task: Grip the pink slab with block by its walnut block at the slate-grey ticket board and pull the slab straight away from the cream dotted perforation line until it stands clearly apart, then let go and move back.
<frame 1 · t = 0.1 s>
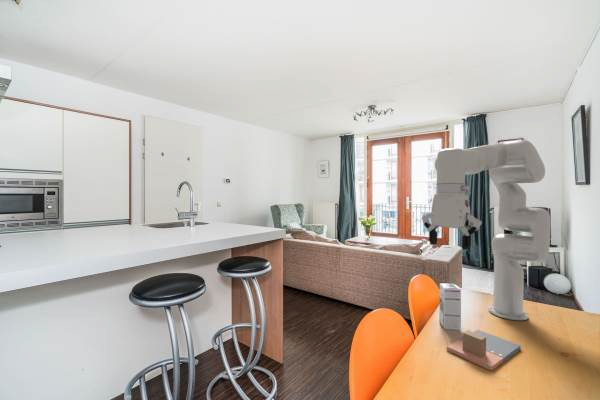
hand: (448, 246, 86), 31 cm above the table, tool pointing down, fingers open, 9 cm apart
ticket: (489, 346, 88), on the table
pink slab with block: (474, 345, 82), point 3 cm above the table, slide at 0.0 cm
syrup box: (449, 326, 101), on the table
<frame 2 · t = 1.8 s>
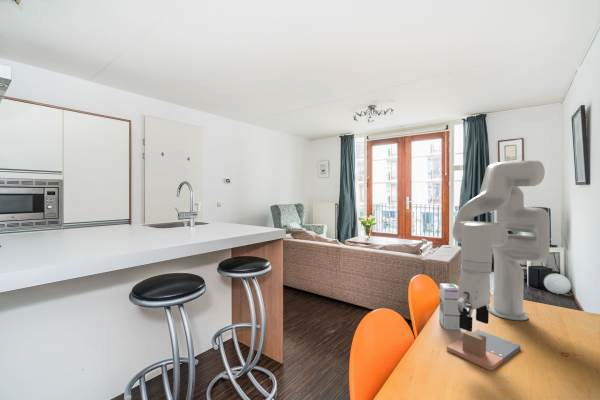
hand: (474, 325, 82), 9 cm above the table, tool pointing down, fingers open, 9 cm apart
nothing on the table moved.
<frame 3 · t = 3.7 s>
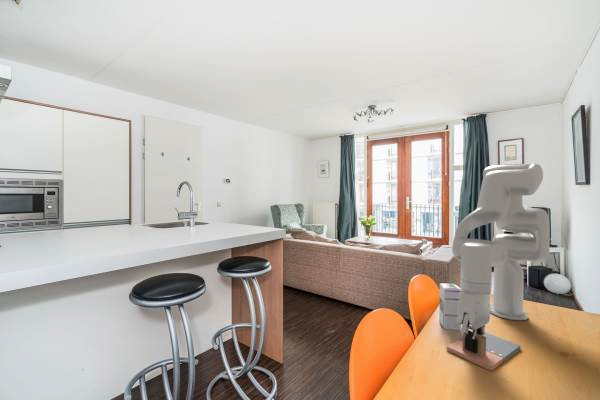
hand: (474, 348, 82), 2 cm above the table, tool pointing down, fingers closed on pink slab with block, 3 cm apart
pink slab with block: (474, 345, 82), point 3 cm above the table, slide at 0.0 cm, touching gripper
everything else where it was.
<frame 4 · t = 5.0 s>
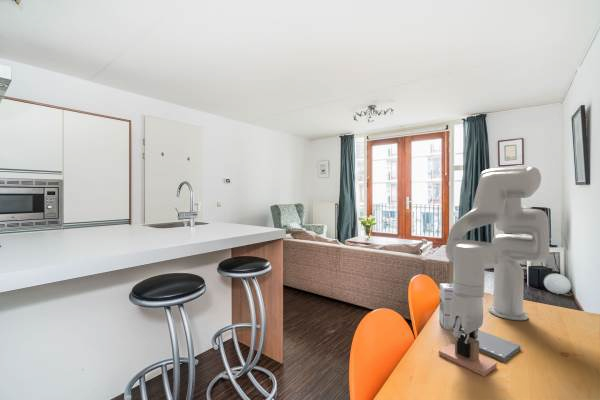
hand: (466, 353, 80), 2 cm above the table, tool pointing down, fingers closed on pink slab with block, 3 cm apart
pink slab with block: (466, 349, 80), point 3 cm above the table, slide at 4.3 cm, touching gripper
everything else where it was.
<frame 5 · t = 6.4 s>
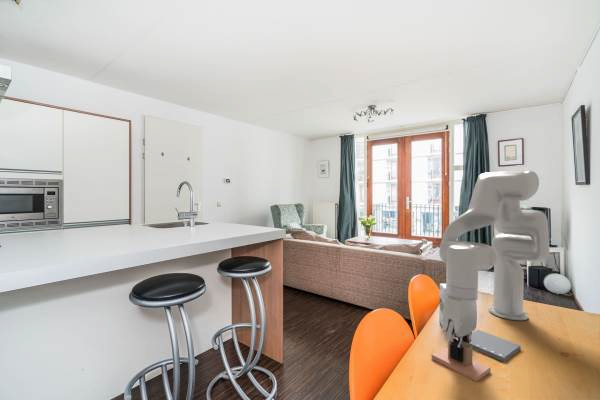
hand: (460, 357, 78), 2 cm above the table, tool pointing down, fingers closed on pink slab with block, 3 cm apart
pink slab with block: (460, 353, 78), point 3 cm above the table, slide at 8.0 cm, touching gripper
everything else where it was.
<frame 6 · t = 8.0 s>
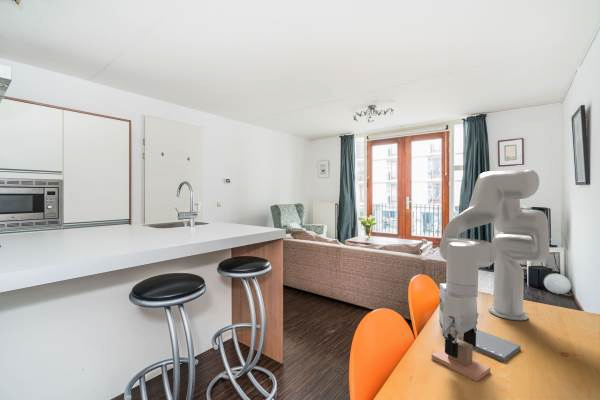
hand: (460, 349, 78), 4 cm above the table, tool pointing down, fingers open, 9 cm apart
pink slab with block: (460, 353, 78), point 3 cm above the table, slide at 8.0 cm
everything else where it was.
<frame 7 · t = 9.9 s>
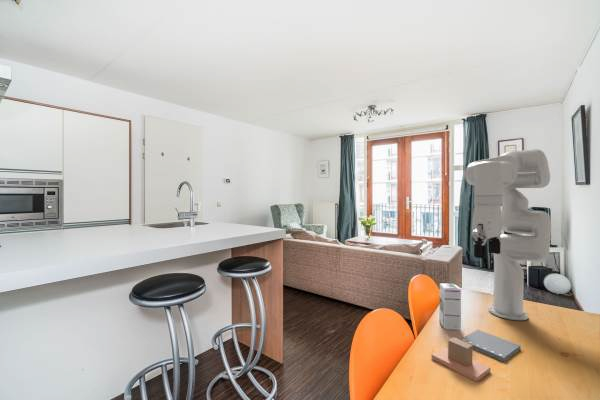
hand: (487, 255, 89), 28 cm above the table, tool pointing down, fingers open, 9 cm apart
nothing on the table moved.
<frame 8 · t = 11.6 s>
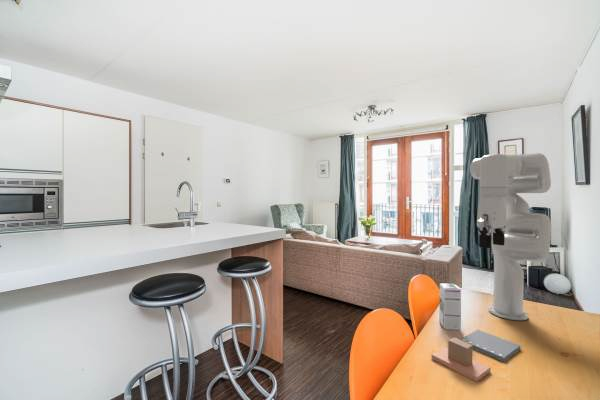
hand: (491, 246, 92), 30 cm above the table, tool pointing down, fingers open, 9 cm apart
nothing on the table moved.
at the end: pink slab with block slide at 8.0 cm; the gripper is holding nothing; syrup box moved 0.2 cm from its start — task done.
